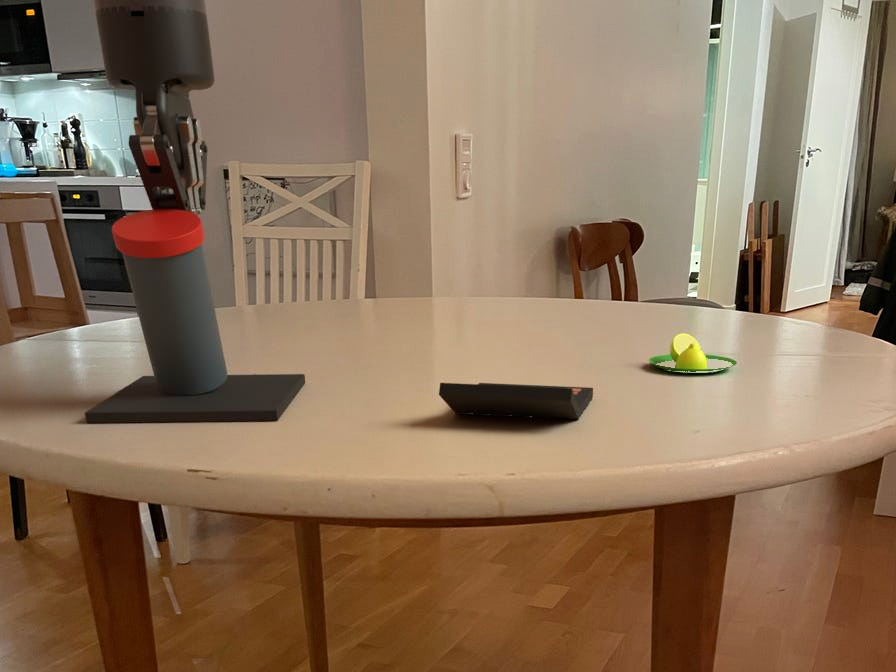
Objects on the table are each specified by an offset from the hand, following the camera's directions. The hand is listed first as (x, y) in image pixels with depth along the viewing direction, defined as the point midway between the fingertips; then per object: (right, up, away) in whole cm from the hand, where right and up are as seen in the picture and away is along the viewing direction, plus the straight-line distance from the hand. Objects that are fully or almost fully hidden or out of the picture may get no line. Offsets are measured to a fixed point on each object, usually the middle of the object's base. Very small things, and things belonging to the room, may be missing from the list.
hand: (189, 273), depth 72 cm
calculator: (+26, -12, -3) cm, 29 cm away
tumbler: (0, -8, +1) cm, 8 cm away
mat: (+1, -10, +1) cm, 10 cm away
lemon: (+43, -4, +13) cm, 45 cm away
